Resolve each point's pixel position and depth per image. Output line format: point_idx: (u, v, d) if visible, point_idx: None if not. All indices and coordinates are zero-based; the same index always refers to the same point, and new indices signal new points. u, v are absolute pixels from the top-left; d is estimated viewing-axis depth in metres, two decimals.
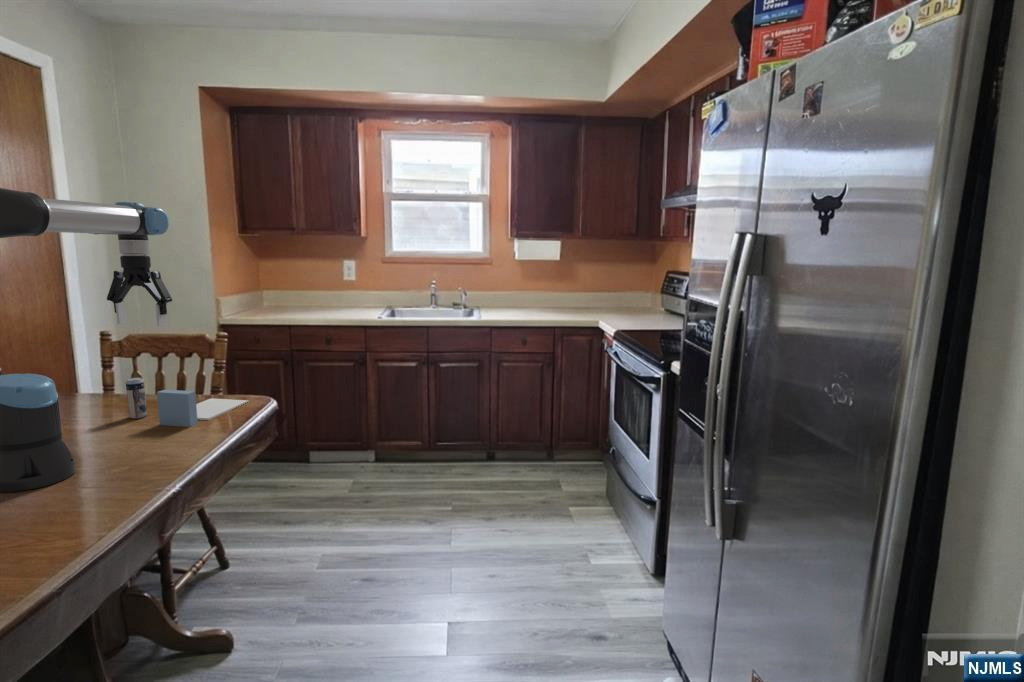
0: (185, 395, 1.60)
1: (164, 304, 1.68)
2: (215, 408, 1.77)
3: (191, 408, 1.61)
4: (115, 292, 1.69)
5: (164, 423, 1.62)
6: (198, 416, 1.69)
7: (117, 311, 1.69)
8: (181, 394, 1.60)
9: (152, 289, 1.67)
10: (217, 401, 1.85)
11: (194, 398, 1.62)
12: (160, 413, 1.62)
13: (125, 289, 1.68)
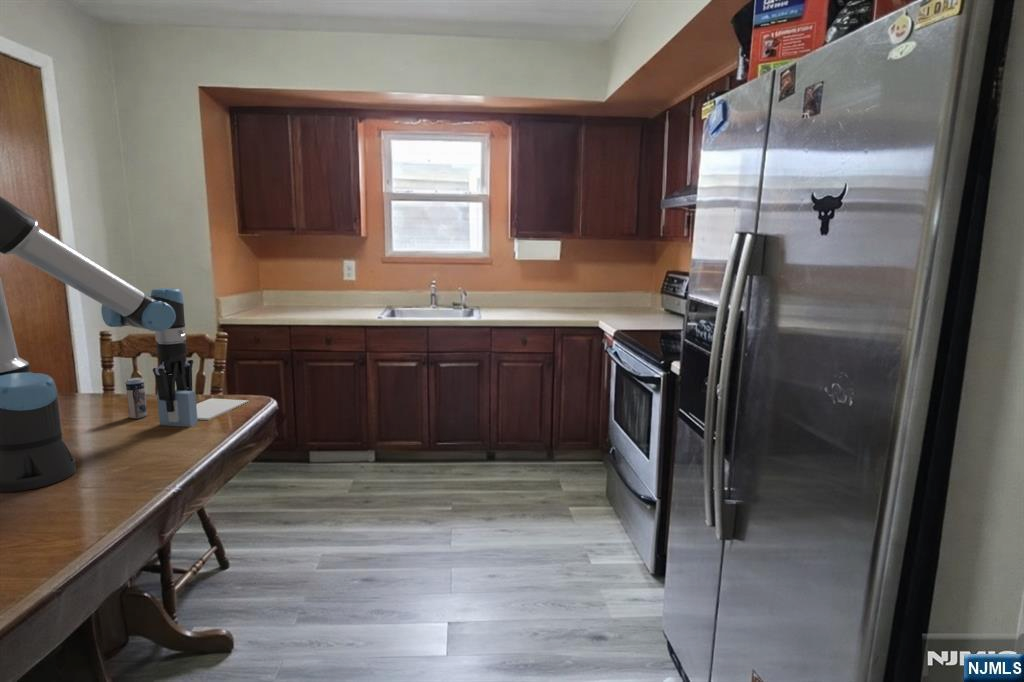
0: (185, 395, 1.60)
1: (167, 401, 1.59)
2: (215, 408, 1.77)
3: (191, 408, 1.61)
4: (185, 382, 1.66)
5: (164, 423, 1.62)
6: (198, 416, 1.69)
7: None
8: (181, 394, 1.60)
9: None
10: (217, 401, 1.85)
11: (194, 398, 1.62)
12: (160, 413, 1.62)
13: (176, 378, 1.63)
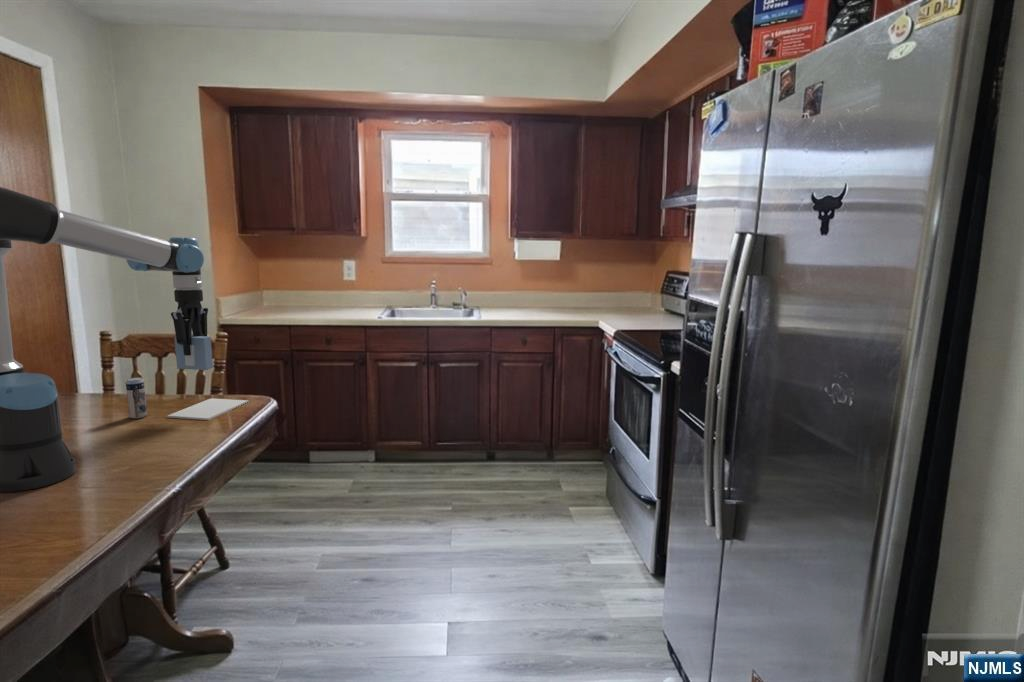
0: (201, 339, 1.68)
1: (184, 345, 1.67)
2: (215, 408, 1.77)
3: (207, 352, 1.70)
4: None
5: (181, 367, 1.71)
6: (198, 416, 1.69)
7: None
8: (197, 338, 1.69)
9: None
10: (217, 401, 1.85)
11: (209, 343, 1.71)
12: (177, 357, 1.71)
13: (192, 324, 1.71)
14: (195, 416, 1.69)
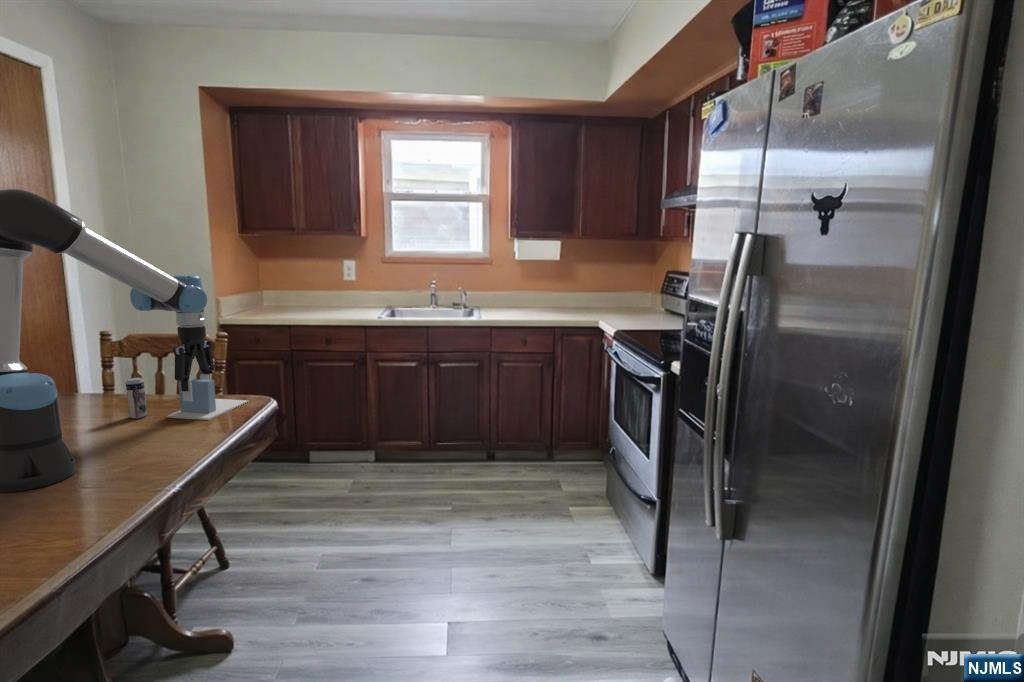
0: (205, 383, 1.71)
1: (182, 381, 1.67)
2: None
3: (210, 395, 1.72)
4: (207, 362, 1.78)
5: (185, 410, 1.73)
6: (198, 416, 1.69)
7: None
8: (201, 382, 1.71)
9: None
10: (217, 401, 1.85)
11: (213, 386, 1.74)
12: (181, 400, 1.73)
13: (198, 359, 1.74)
14: (195, 416, 1.69)
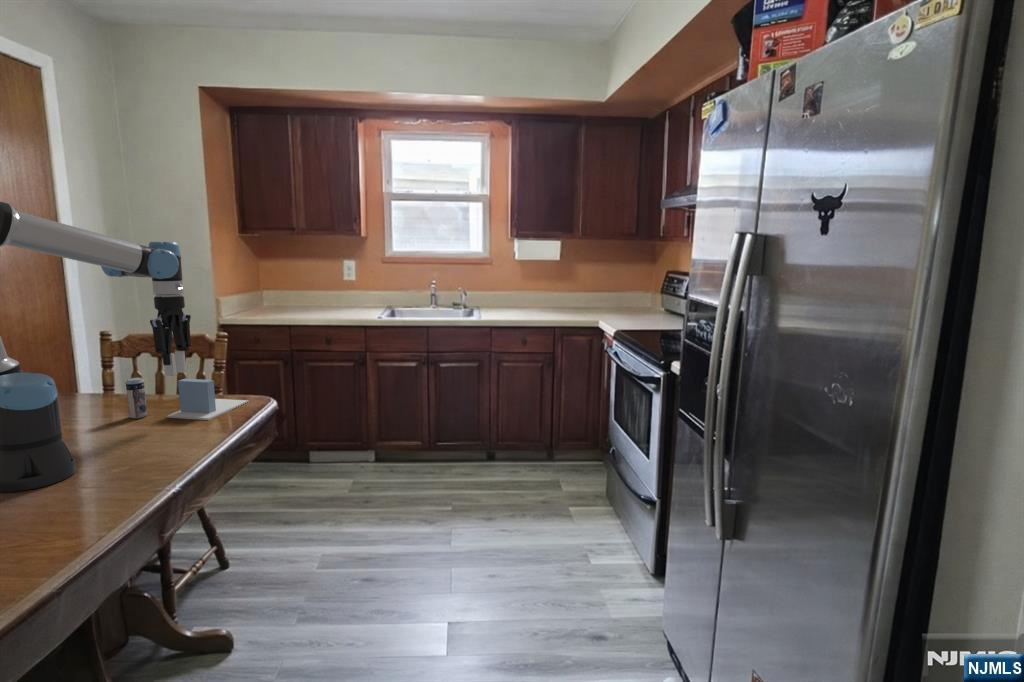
0: (204, 383, 1.71)
1: (163, 355, 1.59)
2: None
3: (210, 395, 1.72)
4: (183, 337, 1.67)
5: (185, 410, 1.73)
6: (198, 416, 1.69)
7: None
8: (201, 382, 1.71)
9: None
10: (217, 401, 1.85)
11: (213, 386, 1.73)
12: (181, 400, 1.73)
13: (174, 332, 1.64)
14: (195, 416, 1.69)
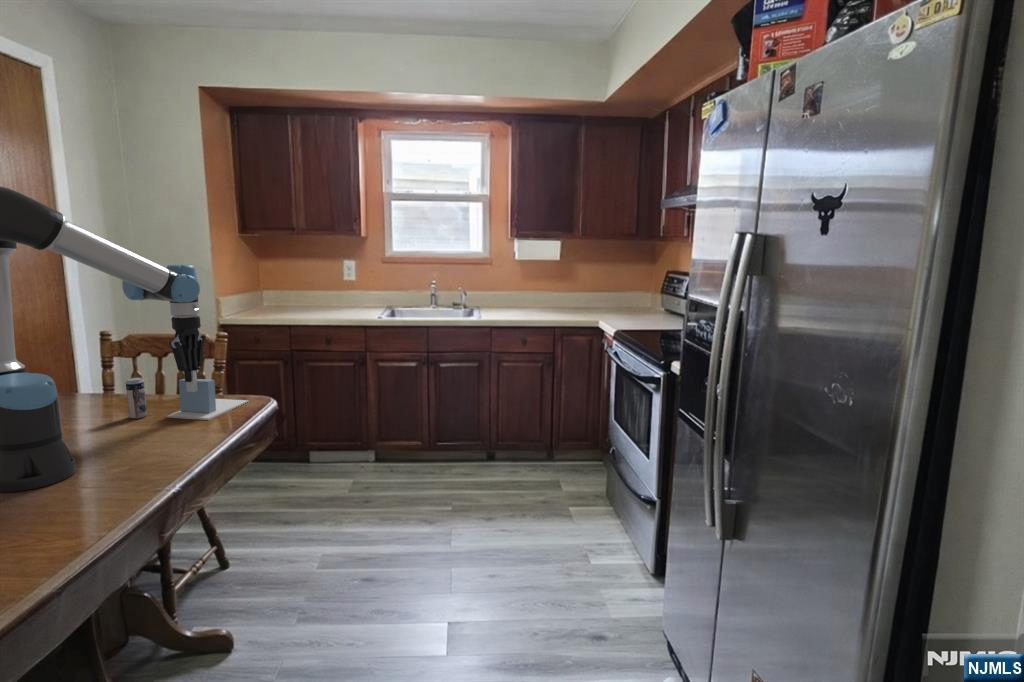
0: (205, 383, 1.71)
1: (185, 372, 1.68)
2: None
3: (210, 395, 1.72)
4: None
5: (185, 409, 1.73)
6: (198, 416, 1.69)
7: None
8: (202, 382, 1.71)
9: None
10: (217, 401, 1.85)
11: (213, 386, 1.74)
12: (181, 400, 1.73)
13: None
14: (195, 416, 1.69)
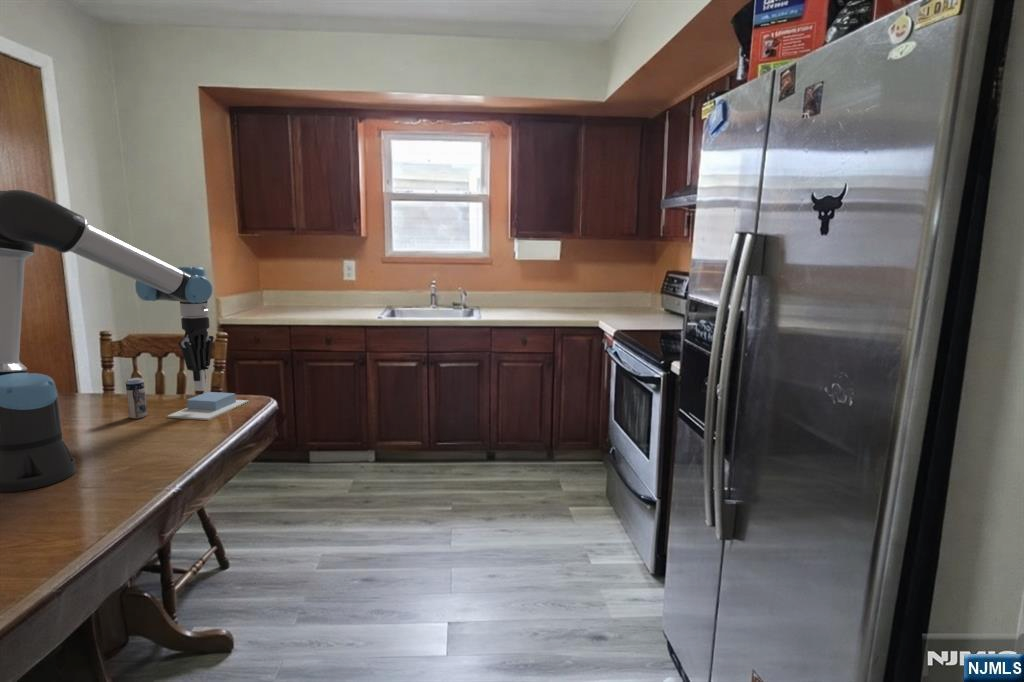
0: (232, 393, 1.84)
1: (194, 371, 1.72)
2: None
3: (226, 399, 1.80)
4: None
5: (192, 399, 1.76)
6: (198, 416, 1.69)
7: None
8: (229, 393, 1.84)
9: None
10: None
11: (231, 402, 1.83)
12: (196, 397, 1.79)
13: None
14: (195, 416, 1.69)
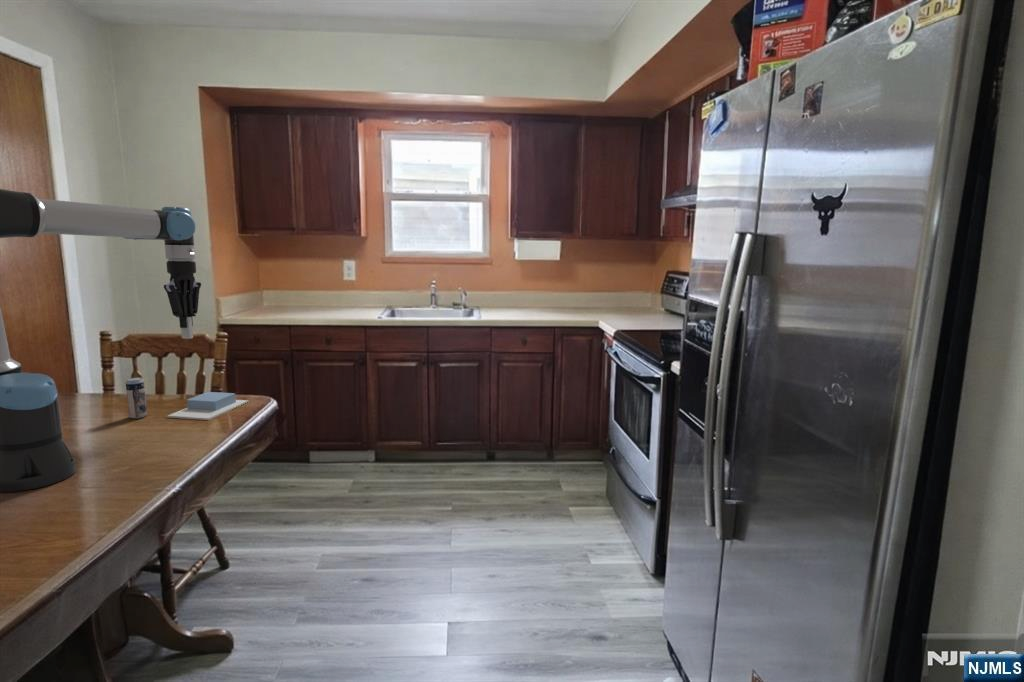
0: (232, 393, 1.84)
1: (180, 317, 1.65)
2: None
3: (226, 399, 1.80)
4: None
5: (192, 399, 1.76)
6: (198, 416, 1.69)
7: None
8: (229, 393, 1.84)
9: None
10: None
11: (231, 402, 1.83)
12: (196, 397, 1.79)
13: None
14: (195, 416, 1.69)
